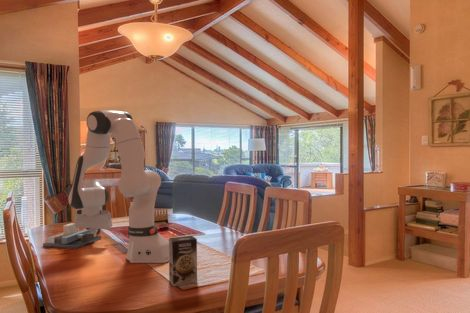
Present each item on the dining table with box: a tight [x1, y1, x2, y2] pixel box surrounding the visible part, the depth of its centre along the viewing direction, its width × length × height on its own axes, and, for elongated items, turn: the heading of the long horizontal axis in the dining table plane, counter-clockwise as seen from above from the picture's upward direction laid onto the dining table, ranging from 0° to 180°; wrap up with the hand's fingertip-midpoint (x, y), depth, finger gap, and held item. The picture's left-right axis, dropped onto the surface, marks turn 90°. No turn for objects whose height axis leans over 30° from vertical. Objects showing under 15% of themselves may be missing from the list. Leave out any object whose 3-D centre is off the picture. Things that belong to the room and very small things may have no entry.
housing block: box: [62, 222, 78, 237], centre depth 191 cm, size 4×6×8 cm, turn 166°
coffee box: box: [168, 235, 198, 287], centre depth 131 cm, size 9×6×16 cm
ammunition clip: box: [154, 208, 169, 225], centre depth 221 cm, size 11×2×12 cm, turn 117°
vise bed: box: [42, 229, 102, 250], centre depth 190 cm, size 20×20×4 cm
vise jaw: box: [62, 229, 98, 244], centre depth 189 cm, size 11×18×3 cm, turn 166°
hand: (93, 236), depth 187 cm, fingers closed
